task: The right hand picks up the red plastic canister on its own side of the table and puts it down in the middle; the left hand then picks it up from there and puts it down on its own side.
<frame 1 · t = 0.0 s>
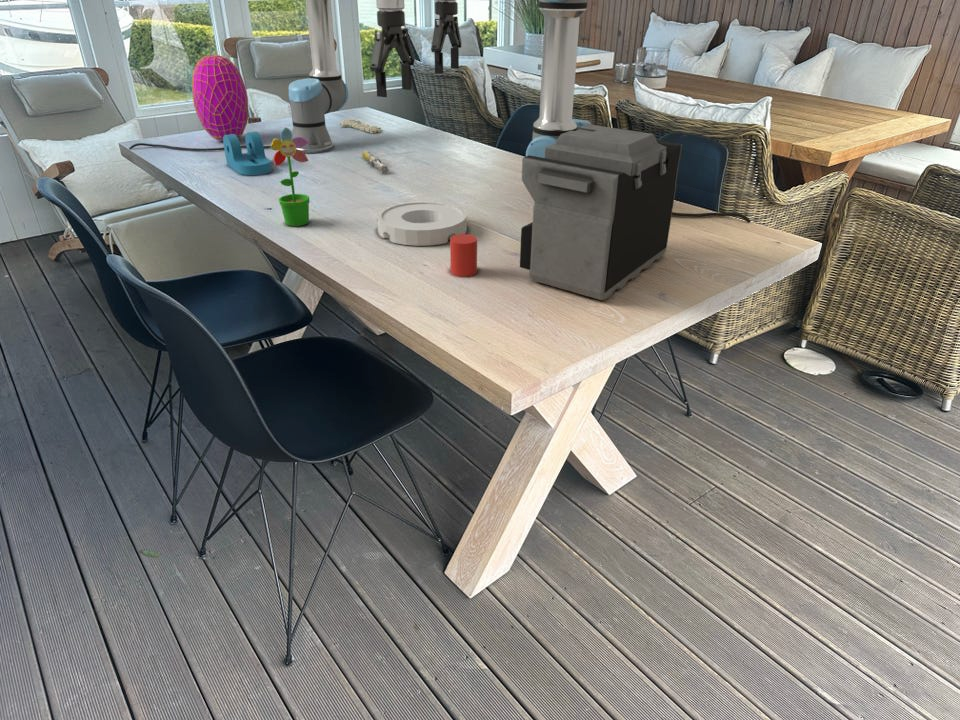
left hand: (447, 70, 236), 28 cm above the table, tool pointing down, fingers open, 13 cm apart
right hand: (394, 93, 197), 28 cm above the table, tool pointing down, fingers open, 13 cm apart
camera mount: (251, 168, 229), on the table
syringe: (375, 165, 235), on the table
potted flower: (298, 223, 184), on the table
canister: (463, 271, 157), on the table
decorative sign: (359, 127, 285), on the table
decorative egg: (227, 141, 263), on the table
grey cooler box: (594, 267, 159), on the table
ashtray: (422, 230, 180), on the table
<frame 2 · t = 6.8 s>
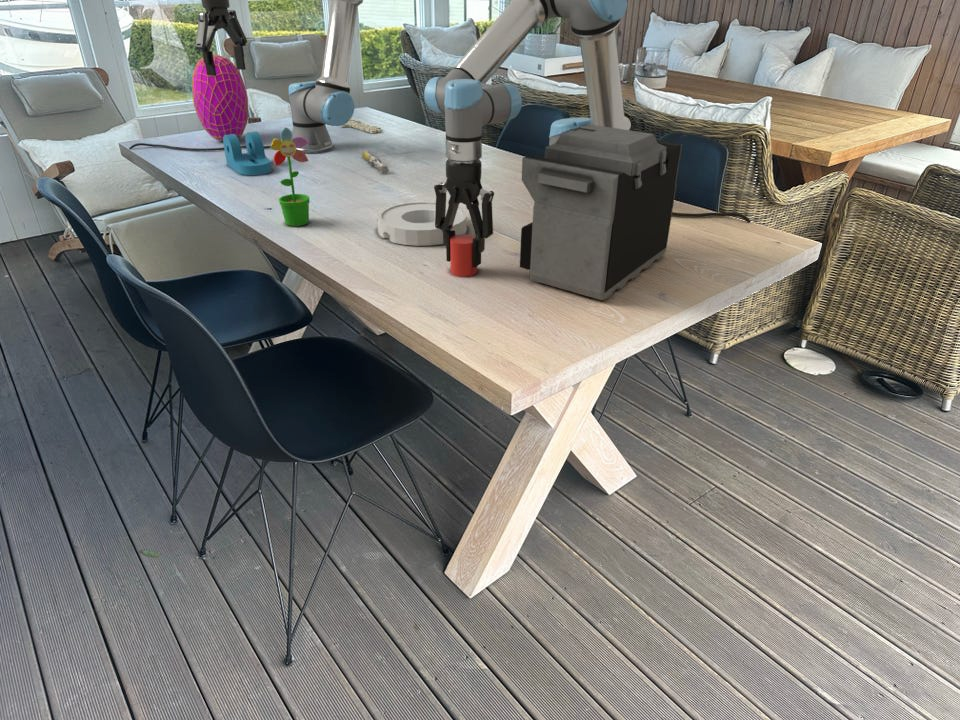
left hand: (226, 72, 207), 31 cm above the table, tool pointing down, fingers open, 13 cm apart
right hand: (463, 262, 156), 2 cm above the table, tool pointing down, fingers closed on canister, 6 cm apart
canister: (463, 271, 157), on the table, touching right hand
everything else where it was.
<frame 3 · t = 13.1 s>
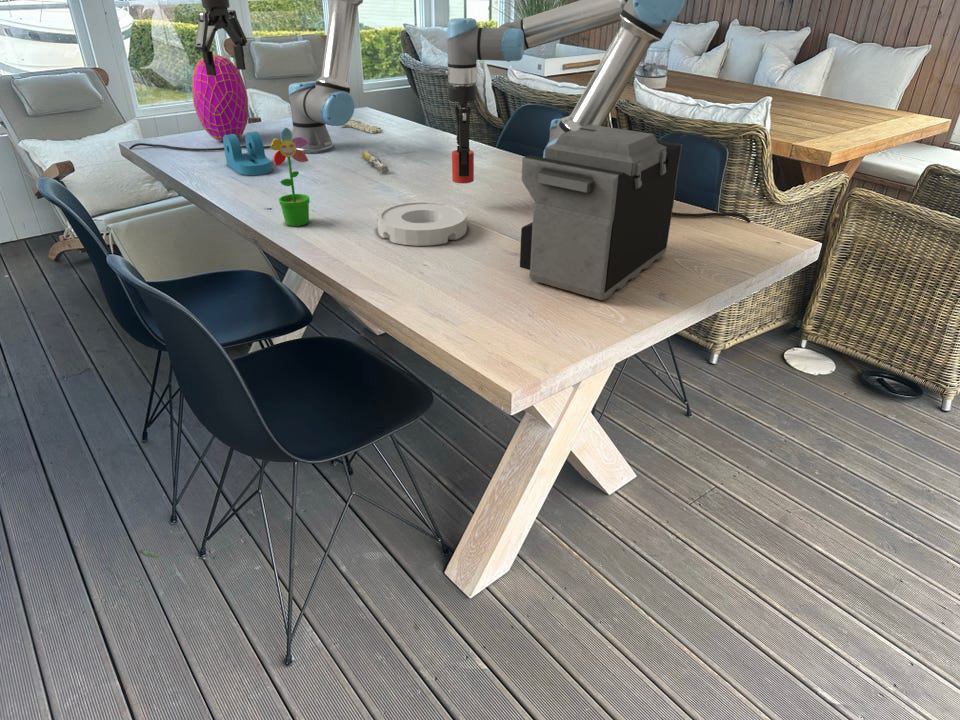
left hand: (226, 72, 207), 31 cm above the table, tool pointing down, fingers open, 13 cm apart
right hand: (463, 172, 191), 10 cm above the table, tool pointing down, fingers closed on canister, 6 cm apart
canister: (463, 180, 193), point 8 cm above the table, touching right hand
everything else where it was.
when the right hand's fingers open (4 cm above the table, at t = 19.4 s): canister drops 1 cm, on the table.
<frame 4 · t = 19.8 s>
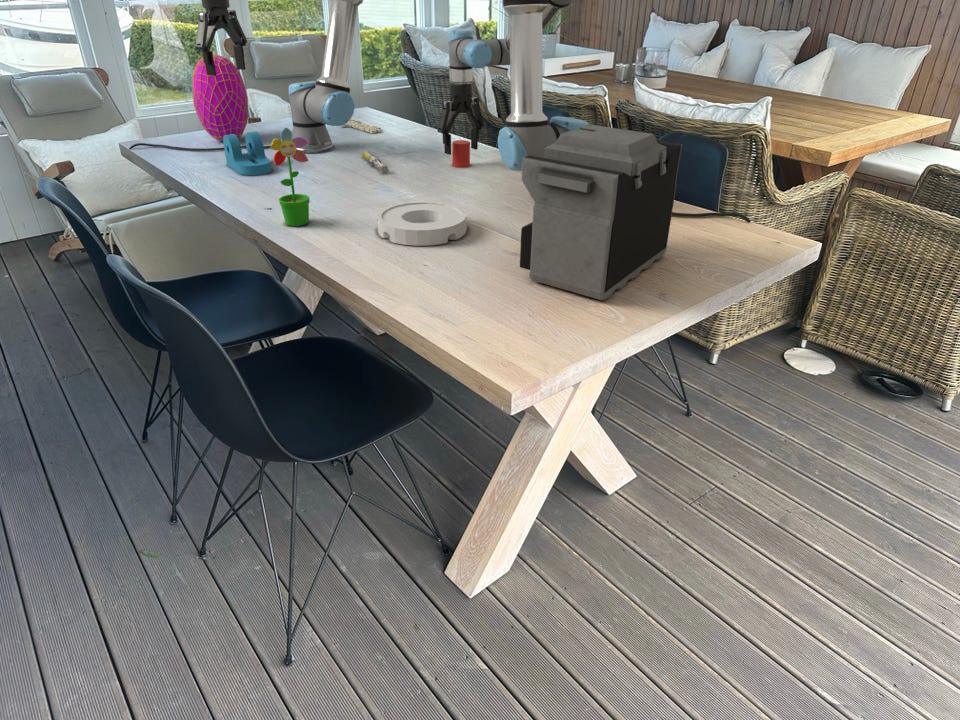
left hand: (226, 72, 207), 31 cm above the table, tool pointing down, fingers open, 13 cm apart
right hand: (461, 151, 233), 5 cm above the table, tool pointing down, fingers open, 11 cm apart
canister: (461, 165, 236), on the table
everything else where it was.
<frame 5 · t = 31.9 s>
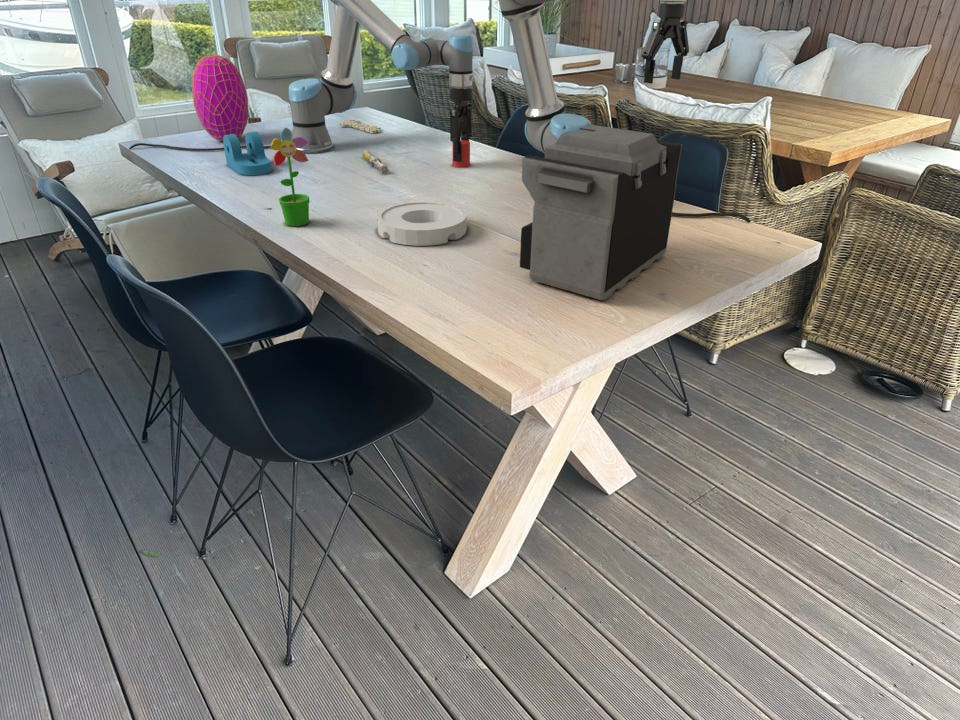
left hand: (461, 158, 235), 2 cm above the table, tool pointing down, fingers closed on canister, 6 cm apart
right hand: (661, 81, 210), 30 cm above the table, tool pointing down, fingers open, 13 cm apart
canister: (461, 165, 236), on the table, touching left hand
everything else where it was.
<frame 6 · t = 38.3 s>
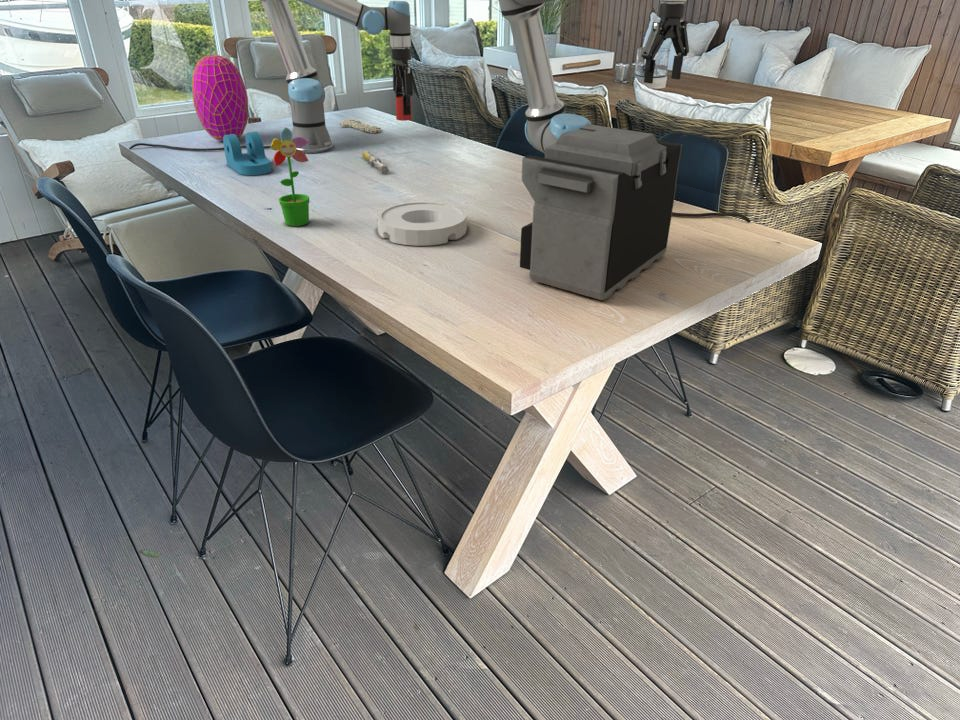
left hand: (403, 112, 266), 9 cm above the table, tool pointing down, fingers closed on canister, 6 cm apart
right hand: (661, 81, 210), 30 cm above the table, tool pointing down, fingers open, 13 cm apart
canister: (404, 119, 267), point 7 cm above the table, touching left hand
everything else where it was.
when the left hand's fingers open (4 cm above the table, at t = 44.9 s): canister drops 1 cm, on the table.
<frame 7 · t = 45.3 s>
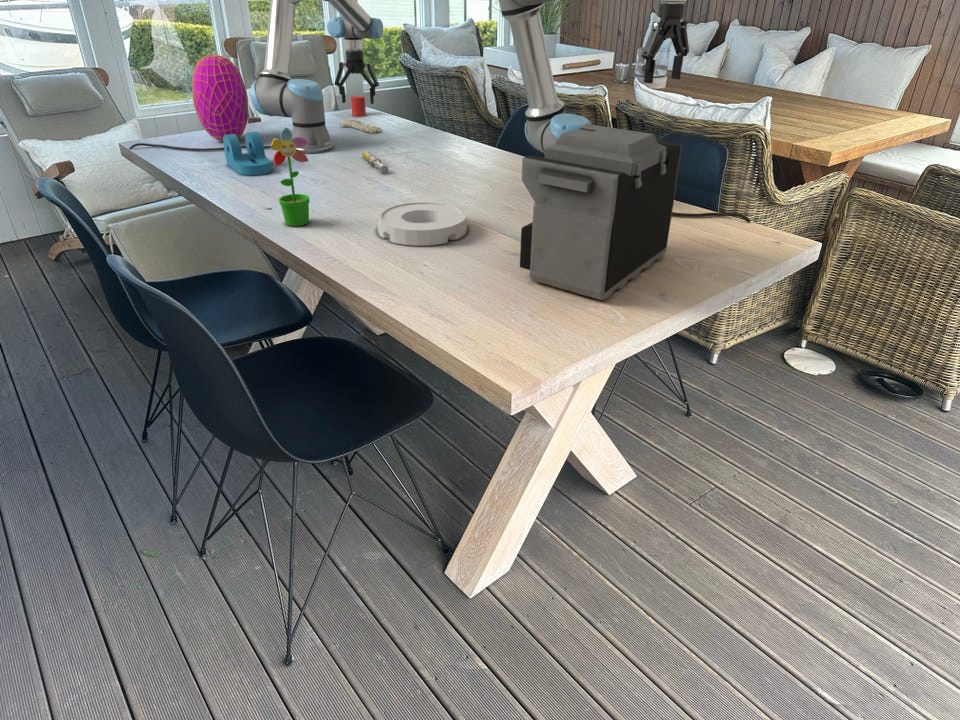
left hand: (358, 103, 305), 5 cm above the table, tool pointing down, fingers open, 12 cm apart
right hand: (661, 81, 210), 30 cm above the table, tool pointing down, fingers open, 13 cm apart
canister: (359, 115, 307), on the table
everything else where it was.
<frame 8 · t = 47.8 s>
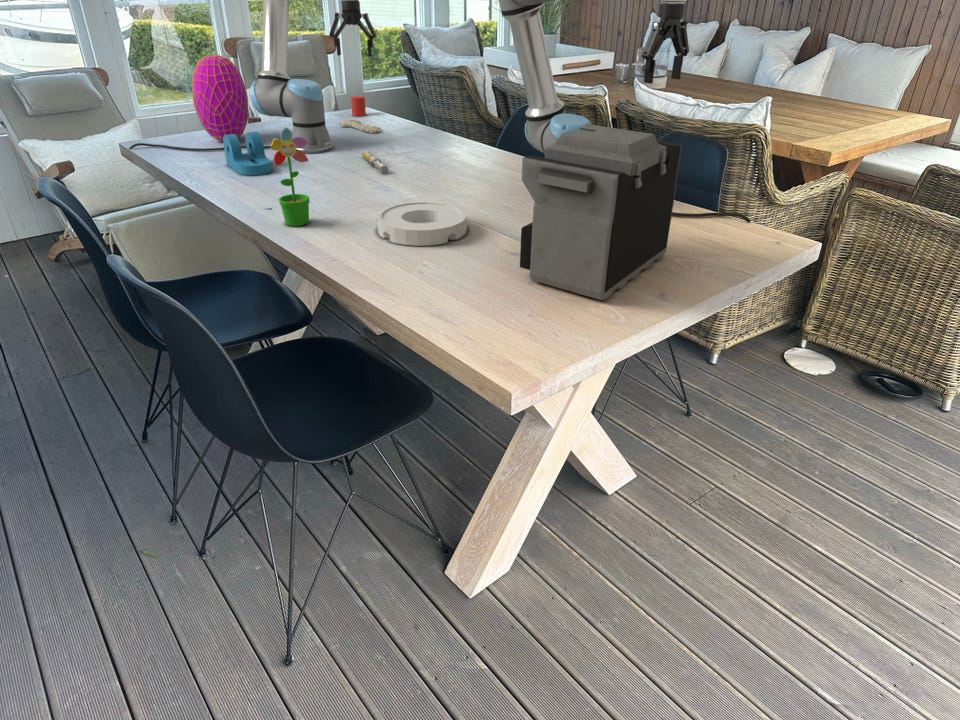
left hand: (354, 55, 295), 25 cm above the table, tool pointing down, fingers open, 13 cm apart
right hand: (661, 81, 210), 30 cm above the table, tool pointing down, fingers open, 13 cm apart
nothing on the table moved.
at the end: canister inside the target area (0.0 cm from its centre), on the table; canister tilted 0°; the two hands never held the canister at the same time; the left hand is holding nothing; the right hand is holding nothing; canister at rest at the end (0.0 cm/s) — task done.
